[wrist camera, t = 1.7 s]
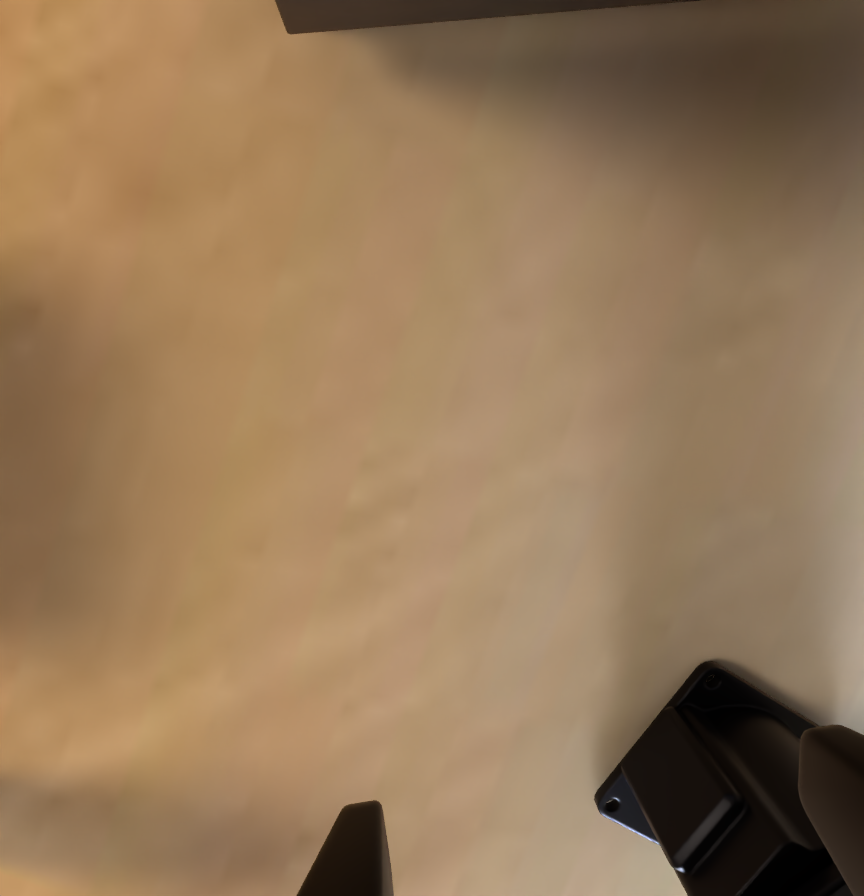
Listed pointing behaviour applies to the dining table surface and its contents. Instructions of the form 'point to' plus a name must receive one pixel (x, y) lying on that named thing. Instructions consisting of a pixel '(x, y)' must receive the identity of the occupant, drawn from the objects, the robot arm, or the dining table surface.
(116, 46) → the dining table surface
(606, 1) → the netbook screen
